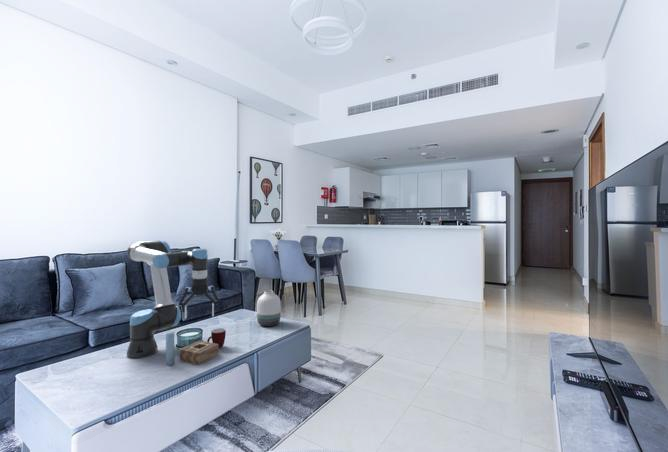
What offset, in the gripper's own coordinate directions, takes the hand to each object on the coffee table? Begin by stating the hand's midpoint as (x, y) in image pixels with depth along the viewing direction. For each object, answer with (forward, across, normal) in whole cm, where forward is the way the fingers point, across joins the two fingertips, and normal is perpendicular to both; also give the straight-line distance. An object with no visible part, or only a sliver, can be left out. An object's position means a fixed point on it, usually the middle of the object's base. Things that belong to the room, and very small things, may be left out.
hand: (199, 317), depth 174 cm
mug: (+24, +9, +14) cm, 29 cm away
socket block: (+24, 0, +4) cm, 24 cm away
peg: (+24, -14, 0) cm, 28 cm away
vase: (+24, +45, +48) cm, 70 cm away
